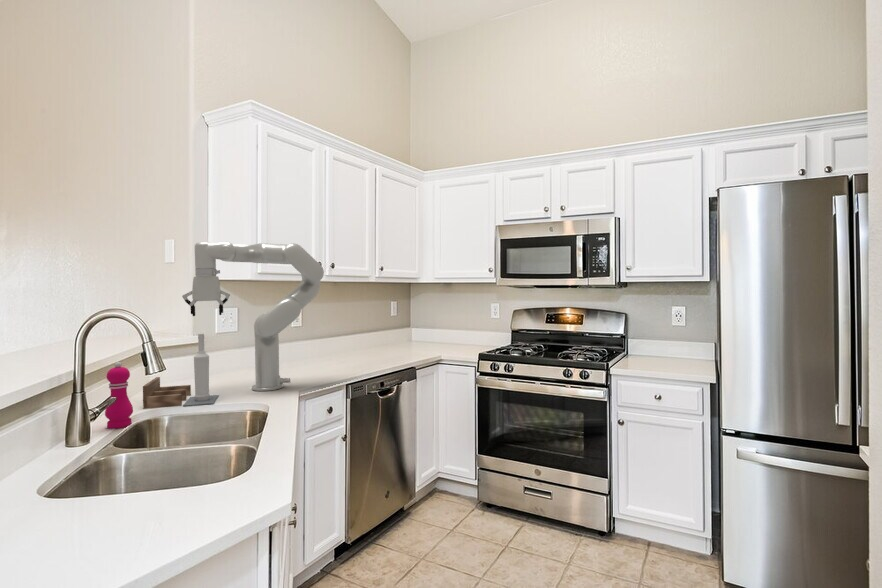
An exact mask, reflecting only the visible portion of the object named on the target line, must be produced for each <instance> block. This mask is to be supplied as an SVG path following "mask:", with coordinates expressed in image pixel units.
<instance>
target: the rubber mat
mask: <svg viewBox="0 0 882 588" xmlns="http://www.w3.org/2000/svg"><path fill="white" fill-rule="evenodd" d="M219 397H220V395H219V394H213V395H211V394H210V397H209V400H206V401H195V396H190V397H189V398H188V399H187V400H185V401H186V402H185V403H184V404H182V407H183V408H184V407H195V406H196V407H199V406H209V405H215V402H216V401H217V399H218V398H219Z"/></svg>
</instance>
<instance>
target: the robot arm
mask: <svg viewBox="0 0 882 588" xmlns="http://www.w3.org/2000/svg"><path fill="white" fill-rule="evenodd" d="M216 260H219V261H223V262H228V263H229V262H230V263H251V264H252V263H253V264H269V265H270V264H271V265H273V264H275V265H277V264H278V265H291V266H292V267H293V268H294V269H295V270H296V271H297V272H298V273H299V274H300V277H301V282H300V283H299V285H298V286H296V288H294V289H293V290H292V291H291V292H290V293H289V294H287V295H286V296H284V297H283V298H281V299H280V300H279V301H278V302H277V304H276V305H275V306H273V307H272V308H271V309H270V310H268V311H267V312H266V313H263V314H261V315H259V316H258V317H257V318H256V319H255V321H254V324H253V331H254V357H255V359H254V361H255V362H254V364H255V372H254V373H255V374H254V375H255V384H253V385H252V386H251V390H253V391H256V392H269V391H275V390H279V389H282V388H284V384H285V383H286V384H287V383H288V384H290V383H291V377H284V378H283V377H281V375H280V343H279V342H280V340H279V334H280V333H281V332H282V331H284V330H285V329H286V328H287V327H289V325H291V324H292V323H294V321H295V320H297V319H298V317H299V316H301V312H302V310H303V309H304V308H306V306H307V305H309V304H310V303H311V302H312V301H314V299H315V298H316V296H317V295H318V293H319V292H320V290H321V283H322V282H321V280H322V279H323V278H324V276H325V275H324V274H325V271H324V268H323V266H322V265H321V264H320V263H319V262H318V261H317V259H315V258H314V257H313V256H312V255H311V254H309V252H308V251H307V250H306V249H305V248H304V247H302V246H301V245H300V244H298V243H289V244H282V243H280V244H278V243H267V242H266V243H264V242H261V243H254V244H233V243H231V242H229V241H221V242H210V241H209V242H204V241H202V242H201V241H200V242H196V243H195V244H194V268H195V270H194V271H195V274H194V275H195V276H193V278H192V290H191V291H189V292H186V293H185V294H182V295H181V298H182V299H183V300H184V301H185V303H186V304H187V305H189V307H190V314H191V315H192V317H195V316H196V306H195V305H196V303H197V302H213V301H215V302H217V303H218V304H219V305H218V314H219V316H221V315H222V314H223V313H224V304H226V303H227V302H228V301H229V298H230V296H231V294H230V293H228V292H226V291H224V290H221V283H220V278H219V276H217V275H218V274H221V270H219V269H217V261H216ZM221 295H224V296H225V297H224V299H223V300H221V297H222V296H221ZM189 296H192V301H191V300H190V299H189V298H188V297H189Z"/></svg>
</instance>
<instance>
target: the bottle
mask: <svg viewBox="0 0 882 588" xmlns="http://www.w3.org/2000/svg"><path fill="white" fill-rule="evenodd" d="M197 338H198V339H197V340H198V341H197V343H198V351H197V353H196V354H195V355H194V356H193V367H194V368H193V370H194V371H193V372H194V374H193V375H194V391H195V392H194V397H195V401H206V400H209V397H210V395H211V394H210V355H209V354H207V353H206V351H205V334H204V333H197Z"/></svg>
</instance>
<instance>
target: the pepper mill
mask: <svg viewBox="0 0 882 588" xmlns="http://www.w3.org/2000/svg"><path fill="white" fill-rule="evenodd" d="M130 377H131V372H130V370H129V369H128V368H127V367H125V366H122V363H121V361H116V362H115V363H114V367H111V368H110V369H109V370H108V371H107V372H106V380H107V381H108V382H109V383H108V386H109V387H108V389H110V397H117V400H116V401H115V403H113V404H112V405H110V406H109V407H107V406H106V407H107V408H106V407H105V411H104V416H105V418H106V419H108V421H107V422H106V426H107V429H113V430H114V429H115V430H116V429H123V428H126V427H129V426H131V425H132V418H131V417H130V416H132V414H133V413H134V408H133V405H132V402H131V401H130V399H129V396H128V393H127V392H128V391H127V388H128V387H129V381H128V380H129V378H130ZM110 397H109V398H110Z"/></svg>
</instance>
